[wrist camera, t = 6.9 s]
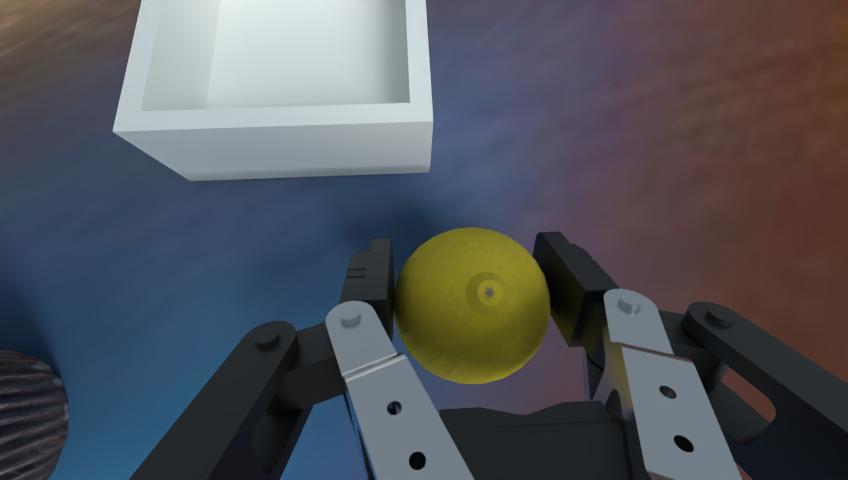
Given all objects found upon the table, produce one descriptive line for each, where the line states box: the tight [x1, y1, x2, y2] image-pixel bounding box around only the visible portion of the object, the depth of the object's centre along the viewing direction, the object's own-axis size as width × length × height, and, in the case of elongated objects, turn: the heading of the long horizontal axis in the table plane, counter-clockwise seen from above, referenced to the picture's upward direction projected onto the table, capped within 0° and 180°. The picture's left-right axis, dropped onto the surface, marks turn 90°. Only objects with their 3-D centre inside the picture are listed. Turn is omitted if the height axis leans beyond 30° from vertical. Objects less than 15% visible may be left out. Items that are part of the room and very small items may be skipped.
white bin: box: [113, 0, 433, 181], centre depth 19 cm, size 14×14×5 cm
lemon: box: [394, 227, 550, 384], centre depth 12 cm, size 6×6×8 cm
